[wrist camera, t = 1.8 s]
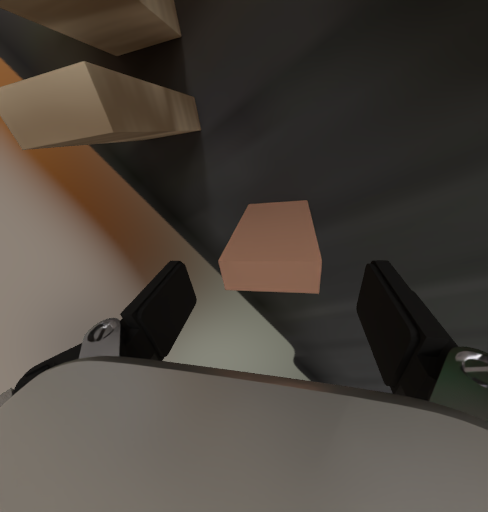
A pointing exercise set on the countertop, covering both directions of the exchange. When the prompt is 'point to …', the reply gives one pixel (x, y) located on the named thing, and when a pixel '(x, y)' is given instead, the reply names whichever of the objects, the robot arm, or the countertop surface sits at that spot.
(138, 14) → the domino
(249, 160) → the countertop surface
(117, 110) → the domino
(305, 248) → the domino
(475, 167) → the countertop surface
